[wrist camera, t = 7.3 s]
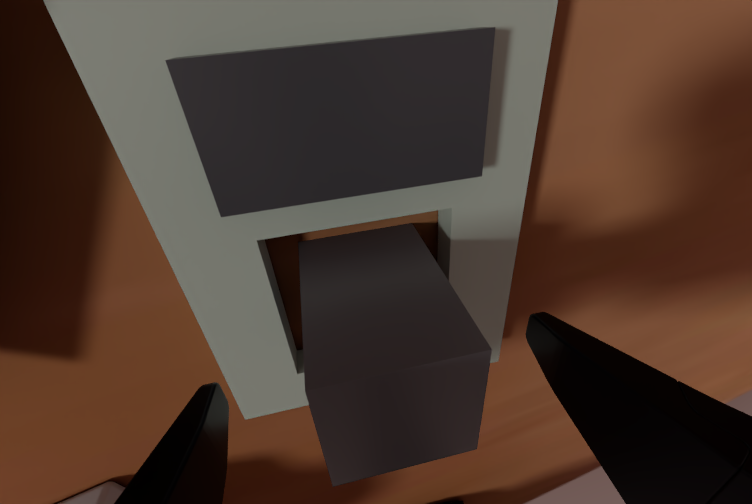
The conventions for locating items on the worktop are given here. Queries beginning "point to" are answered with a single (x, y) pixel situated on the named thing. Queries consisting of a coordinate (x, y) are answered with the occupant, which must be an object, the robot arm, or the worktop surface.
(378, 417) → the block
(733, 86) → the worktop surface
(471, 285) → the plate
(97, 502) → the medicine bottle
